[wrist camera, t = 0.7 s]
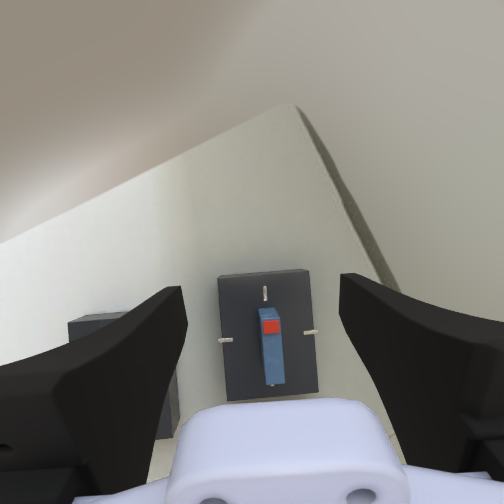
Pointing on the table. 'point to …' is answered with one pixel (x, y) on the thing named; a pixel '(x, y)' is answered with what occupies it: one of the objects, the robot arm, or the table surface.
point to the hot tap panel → (171, 404)
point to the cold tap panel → (248, 332)
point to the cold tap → (271, 346)
